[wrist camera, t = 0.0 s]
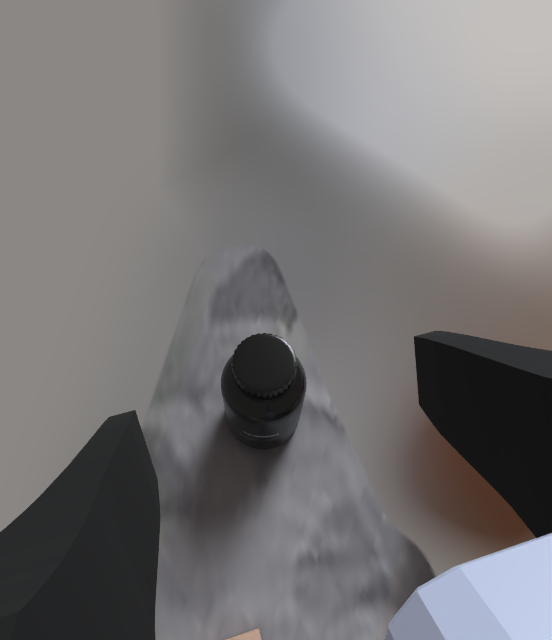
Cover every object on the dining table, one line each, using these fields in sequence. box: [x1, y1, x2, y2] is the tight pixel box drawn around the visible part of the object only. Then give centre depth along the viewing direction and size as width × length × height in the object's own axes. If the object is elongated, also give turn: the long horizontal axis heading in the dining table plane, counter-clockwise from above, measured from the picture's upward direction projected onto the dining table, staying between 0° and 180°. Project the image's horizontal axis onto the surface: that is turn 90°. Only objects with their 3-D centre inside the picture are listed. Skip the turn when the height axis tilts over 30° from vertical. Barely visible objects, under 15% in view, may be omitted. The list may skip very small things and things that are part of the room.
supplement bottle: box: [221, 333, 306, 449], centre depth 40 cm, size 7×7×12 cm
